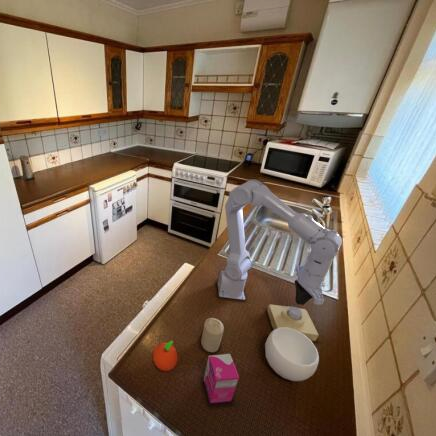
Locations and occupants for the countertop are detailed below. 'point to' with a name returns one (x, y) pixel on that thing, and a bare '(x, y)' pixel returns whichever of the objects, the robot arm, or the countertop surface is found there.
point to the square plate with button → (292, 321)
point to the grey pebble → (294, 313)
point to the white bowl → (291, 354)
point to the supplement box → (220, 378)
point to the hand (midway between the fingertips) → (299, 302)
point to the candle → (212, 334)
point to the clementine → (165, 356)
